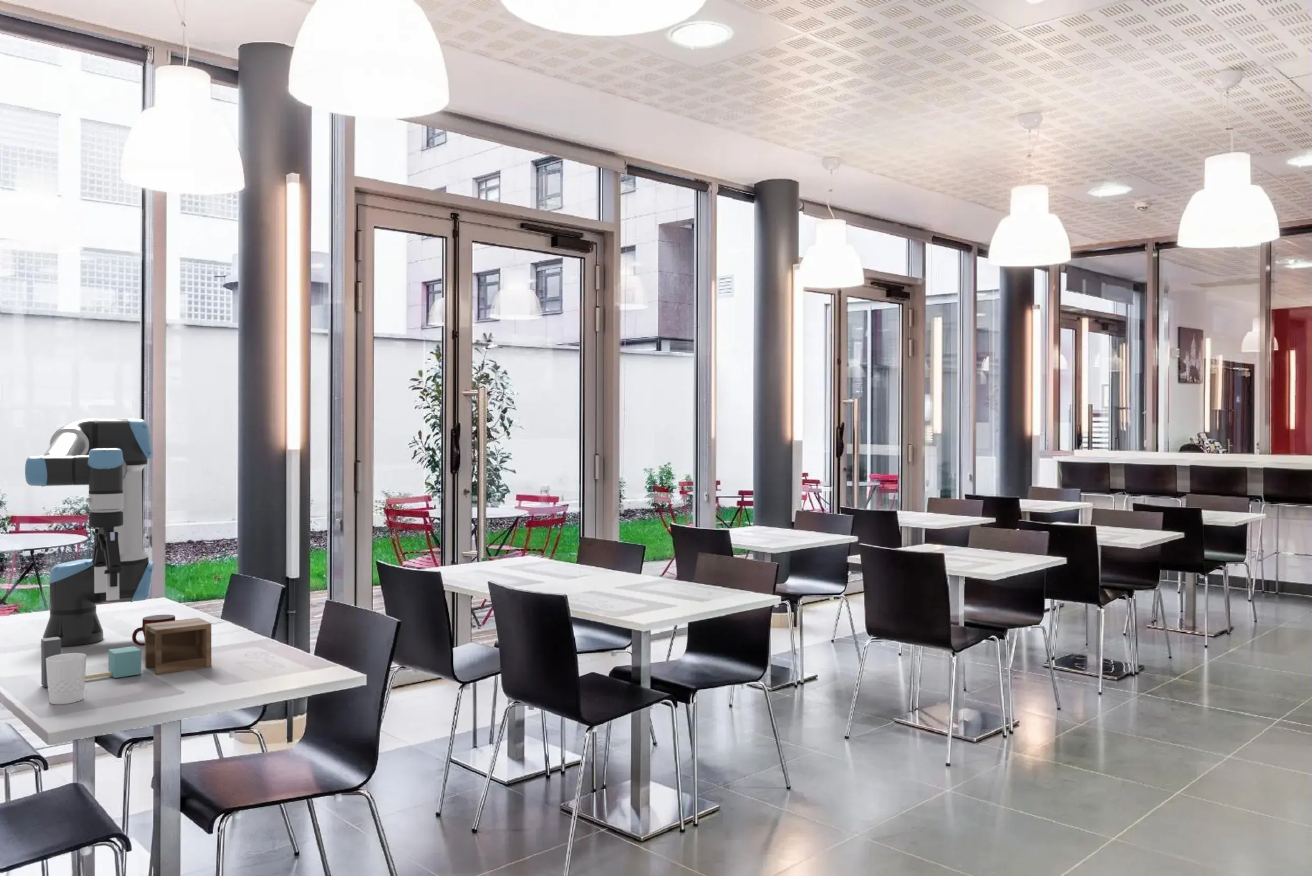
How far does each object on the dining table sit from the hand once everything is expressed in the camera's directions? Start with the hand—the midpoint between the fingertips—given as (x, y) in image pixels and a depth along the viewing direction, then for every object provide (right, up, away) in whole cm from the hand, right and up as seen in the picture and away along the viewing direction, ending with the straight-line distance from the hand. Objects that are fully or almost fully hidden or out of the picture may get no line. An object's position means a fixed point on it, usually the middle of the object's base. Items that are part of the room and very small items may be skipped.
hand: (106, 596), depth 247 cm
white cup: (+2, -21, -21) cm, 29 cm away
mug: (-1, -20, +26) cm, 33 cm away
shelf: (+12, -20, +11) cm, 26 cm away
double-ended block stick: (-3, -20, -2) cm, 20 cm away
